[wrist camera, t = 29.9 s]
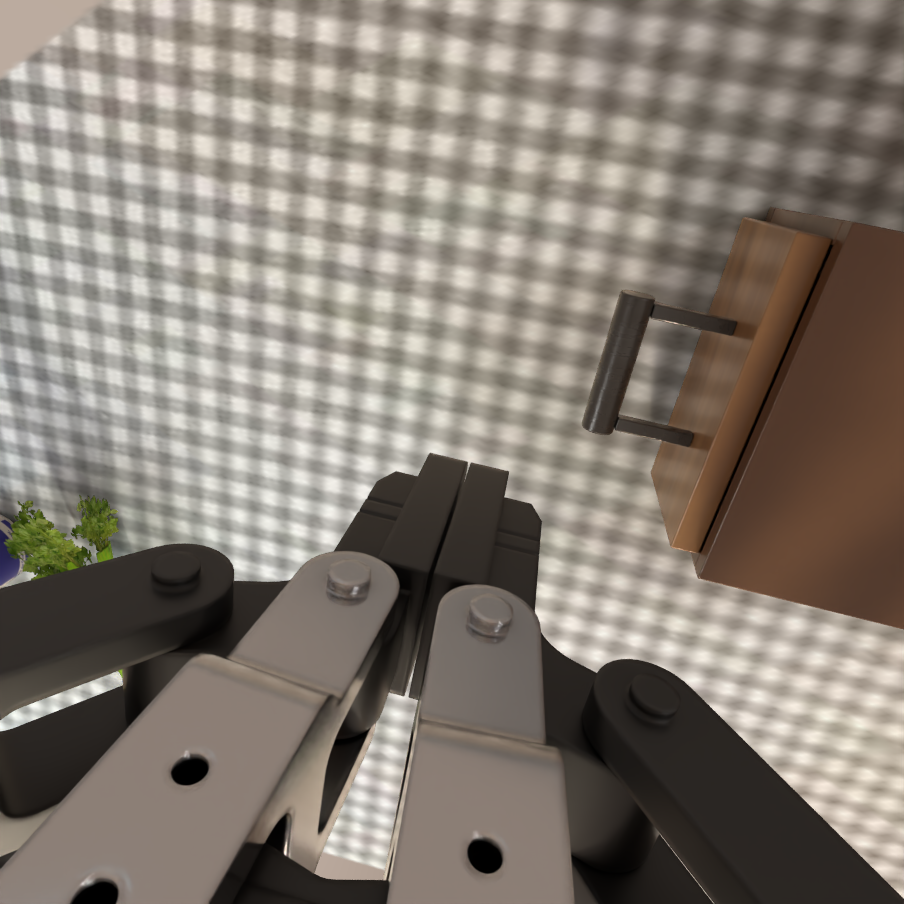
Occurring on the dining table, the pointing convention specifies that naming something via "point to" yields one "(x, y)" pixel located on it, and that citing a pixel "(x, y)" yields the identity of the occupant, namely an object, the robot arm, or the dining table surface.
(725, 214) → the dining table surface
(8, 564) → the energy drink
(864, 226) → the cabinet
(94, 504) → the celery stalk
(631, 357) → the drawer
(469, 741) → the robot arm
